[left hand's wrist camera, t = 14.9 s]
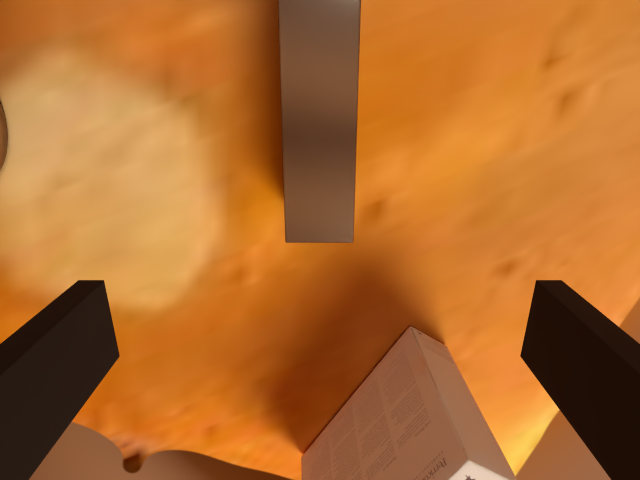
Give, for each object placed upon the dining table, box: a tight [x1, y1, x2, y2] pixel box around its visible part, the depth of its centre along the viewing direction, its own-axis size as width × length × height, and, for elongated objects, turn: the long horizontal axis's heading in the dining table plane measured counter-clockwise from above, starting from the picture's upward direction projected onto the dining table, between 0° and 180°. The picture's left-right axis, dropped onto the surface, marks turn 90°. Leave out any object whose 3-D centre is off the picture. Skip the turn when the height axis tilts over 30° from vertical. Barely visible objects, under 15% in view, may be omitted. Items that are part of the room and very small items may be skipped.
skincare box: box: [301, 326, 517, 480], centre depth 37 cm, size 21×5×16 cm, turn 147°
